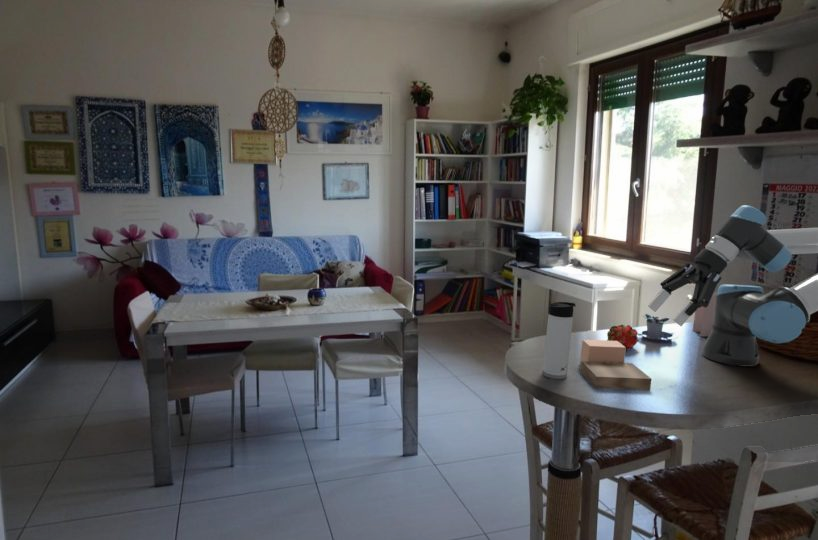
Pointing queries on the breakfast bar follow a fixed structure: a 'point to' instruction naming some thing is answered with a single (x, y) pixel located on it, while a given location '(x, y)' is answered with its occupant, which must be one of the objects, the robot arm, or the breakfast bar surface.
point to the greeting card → (705, 317)
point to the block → (602, 351)
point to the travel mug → (558, 340)
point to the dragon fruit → (623, 335)
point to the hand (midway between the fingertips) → (663, 315)
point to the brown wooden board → (615, 375)
